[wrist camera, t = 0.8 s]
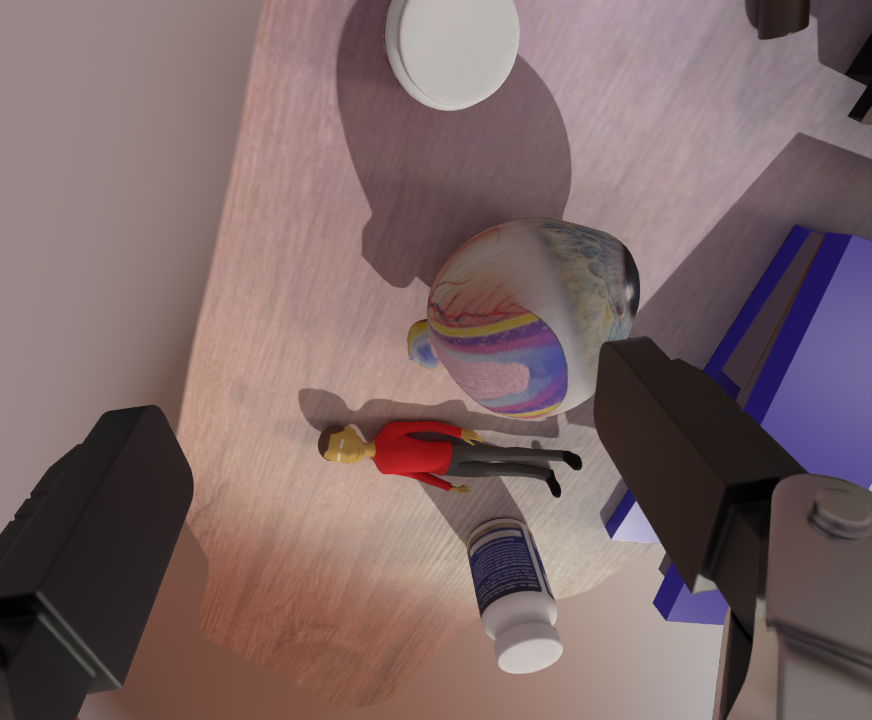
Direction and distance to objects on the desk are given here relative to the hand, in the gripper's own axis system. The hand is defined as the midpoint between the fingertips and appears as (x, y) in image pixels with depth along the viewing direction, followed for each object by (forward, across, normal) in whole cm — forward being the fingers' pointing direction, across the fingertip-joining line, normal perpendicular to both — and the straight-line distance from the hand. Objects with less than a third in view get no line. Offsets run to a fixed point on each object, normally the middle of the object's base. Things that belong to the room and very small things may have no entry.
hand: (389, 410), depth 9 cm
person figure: (+20, -2, +19) cm, 28 cm away
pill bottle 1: (+20, -4, -6) cm, 21 cm away
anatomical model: (+20, -6, +7) cm, 22 cm away
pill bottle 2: (+20, -6, +31) cm, 37 cm away
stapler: (+20, -25, +20) cm, 38 cm away
